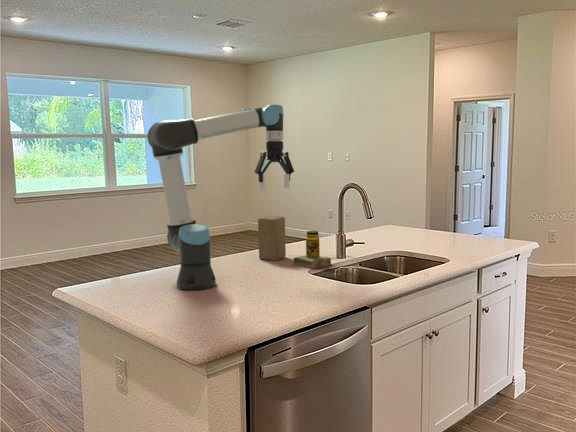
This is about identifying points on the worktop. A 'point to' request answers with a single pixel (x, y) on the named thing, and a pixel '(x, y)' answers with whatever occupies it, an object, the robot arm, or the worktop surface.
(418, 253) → the worktop surface
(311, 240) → the condiment
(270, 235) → the wooden block
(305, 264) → the stand
